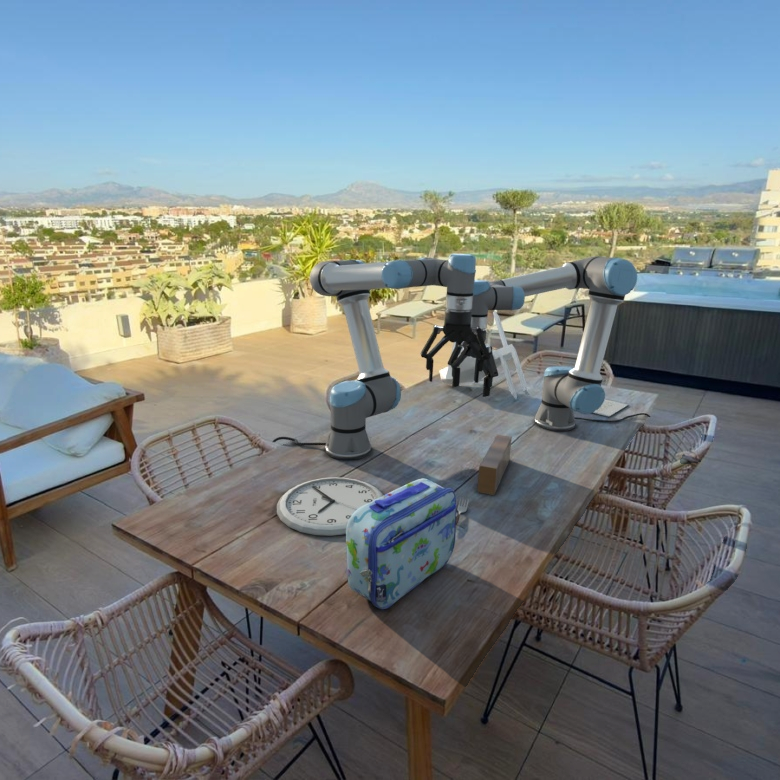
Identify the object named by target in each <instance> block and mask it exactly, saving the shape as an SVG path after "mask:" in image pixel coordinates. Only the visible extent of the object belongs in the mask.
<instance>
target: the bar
mask: <svg viewBox="0 0 780 780" xmlns="http://www.w3.org/2000/svg"><path fill="white" fill-rule="evenodd" d="M512 438H513V437H512V436H510V435H504V434H497V433H496V435H495V436H494V438H493V440H492V442H491V444H490V445H489V448H488V449H487V451H486V453H485V454H484V456H483V457H482V460H481V462H480V463H479V466H478V477H477V479H478V480H477V493H481V494H485V495H491V496H495V495H496V493H497V489H498V488H499V485H500V483H501V481H502V478H503V476H504V474H505V471H506V469H507V467H508V464H509V463H510V459H511V446H512Z"/></svg>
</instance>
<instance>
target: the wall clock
mask: <svg viewBox="0 0 780 780" xmlns="http://www.w3.org/2000/svg"><path fill="white" fill-rule="evenodd" d="M384 495H385V494H384V493H383V492H382V491H381V490H380V489H379V488H377V487H376V486H374V485H372V484H371V483H369V482H365V481H362V480H359V479H355V478H349V477H338V476H337V477H335V476H333V477H332V476H331V477H322V478H317V479H312V480H307V481H305V482H302V483H299V484H297V485H295V486H293V487H292V488H290V489H288V490H287V491H286V492H285V493H284V494H283V495H281V496H280V498H279V499H278V502H277V503H276V515H277V517H278V518H279V520H280V521H281V522H282V523H283V524H285V525H286V526H287V527H288V528H290V529H293V530H295V531H297V532H299V533H303V534H308V535H312V536H327V537H328V536H329V537H331V536H332V537H333V536H342V535H346V528H347V524H348V521H349V519H350V517H351V515H352V514H353V513H354V512H355V511H356V510H357V509H358V508H360V507H362V506H364V505H366V504H368V503H370V502H372V501H374V500H376V499H378V498H380V497H382V496H384Z"/></svg>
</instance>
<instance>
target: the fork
mask: <svg viewBox="0 0 780 780" xmlns="http://www.w3.org/2000/svg"><path fill="white" fill-rule="evenodd" d="M464 498H465V497H460V499H459V502H458V505H457V506H456V512H458V513H457V514H456V526H457V525H458V524H459V520H460V516H461V514H463V513H465V512H467V511H468V506H469V500H470V498H467V499H464ZM466 501H467V502H466Z"/></svg>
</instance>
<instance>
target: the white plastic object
mask: <svg viewBox="0 0 780 780" xmlns="http://www.w3.org/2000/svg"><path fill="white" fill-rule="evenodd" d="M492 315H493V319H494V321H495V324H496V325H495V326H496V328H497V332H498V335H499V338H500V342H501V345H502V347H500V348H498V349H496V350H495V349H492V354H493V357H494V361H495V364H496V367H497V368H499V367H500V366H502V370H503V373H504V376H505V380H506V383H507V386H508V390H509V393H510V394H511V395H512V397H513V398H514V399H515V400H517V392H516V391H517V390H516V388H515V385H514V381H513V378H512V375H511V371H510V369H509V365H508V361H510V360H513V363H514V366H515V369H516V372H517V376H518V380H519V382H520V385H521V389H522V391H523V393H524V395H525V396H526V397H528V396H531V395H530V390H529V388H528V387H529V386H528V384H527V381H526V378H525V375H524V371H523V369H522V368H523V367H522V366H521V362H520V359H519V355H518V352H517V349H516V347H515V346H514V345H513V343H511V344H508V341H507V337H506V334H505V331H504V328H503V325H502V321H501V318H500V315H499V314H498V312H497V310H493V311H492ZM455 345H456V342H453V344H452V349H451V353H450V355H451V354H452V352H453V350H454V348H455ZM485 345H486V347H490V346H491V345H490V344H489V343H488V342H487V343H485ZM463 350H464V348H463V347H462V349H461V352H462V351H463ZM461 352H460V354H461ZM460 354H459V356H460ZM459 356H458V357H459ZM475 362H476V358H473V357H471V356H470V357H469V356H467V357H466V358H465V359H464V361H463V362H462V363H461V364H460V365H459V368H460V381H459V384H467V383H468V384H469V383H473V384H476V383H475V381H474V373H475ZM457 368H458V367H457ZM438 372H439V376H440V381H442V383H443V384H444V385H445V386H449V385H452V382H453V377H452V367H451V366H450V365H448V366H446V367H444V368H442V369H440V370H439V371H438ZM484 377H486V375H485V373H484V371H483V370H482V371H479V377H478V383H480V382H482V381H484Z"/></svg>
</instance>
